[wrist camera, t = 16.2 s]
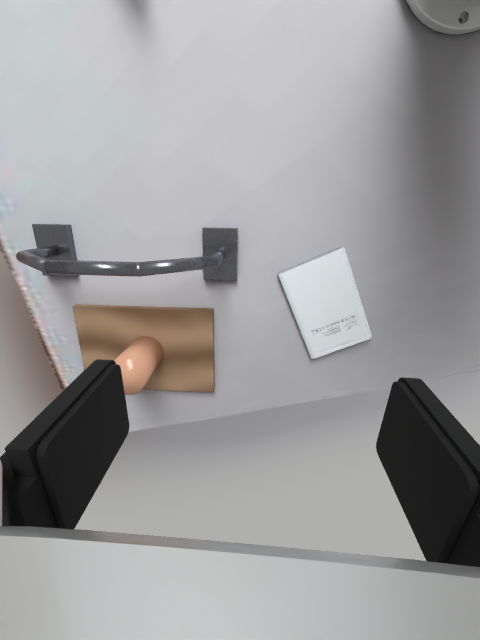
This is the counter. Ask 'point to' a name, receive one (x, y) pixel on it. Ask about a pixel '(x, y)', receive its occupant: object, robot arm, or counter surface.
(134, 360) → the peach domed cylinder
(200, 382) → the walnut board
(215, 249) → the grey cabinet handle
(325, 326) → the external hard drive
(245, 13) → the counter surface
